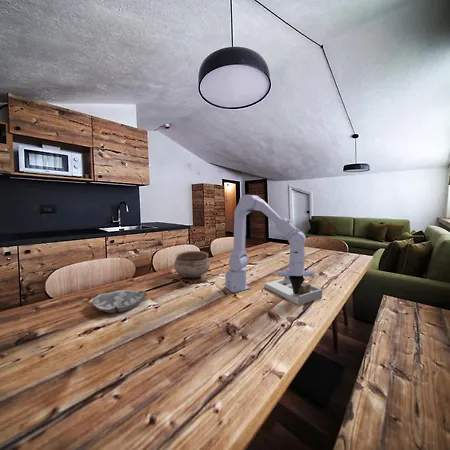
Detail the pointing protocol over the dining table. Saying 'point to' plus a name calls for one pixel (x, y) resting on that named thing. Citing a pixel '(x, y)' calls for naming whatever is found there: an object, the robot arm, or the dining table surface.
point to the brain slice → (118, 300)
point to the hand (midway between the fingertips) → (295, 293)
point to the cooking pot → (192, 264)
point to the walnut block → (304, 288)
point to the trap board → (288, 291)
